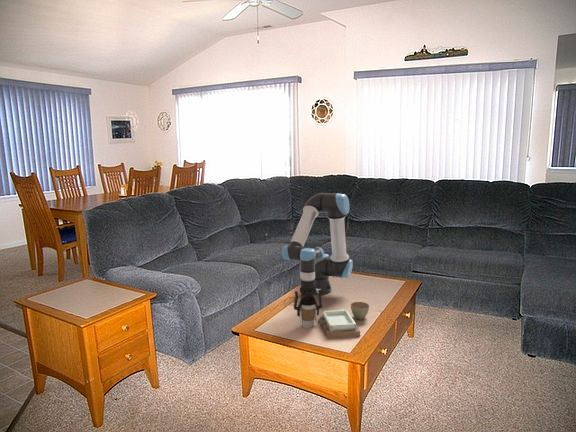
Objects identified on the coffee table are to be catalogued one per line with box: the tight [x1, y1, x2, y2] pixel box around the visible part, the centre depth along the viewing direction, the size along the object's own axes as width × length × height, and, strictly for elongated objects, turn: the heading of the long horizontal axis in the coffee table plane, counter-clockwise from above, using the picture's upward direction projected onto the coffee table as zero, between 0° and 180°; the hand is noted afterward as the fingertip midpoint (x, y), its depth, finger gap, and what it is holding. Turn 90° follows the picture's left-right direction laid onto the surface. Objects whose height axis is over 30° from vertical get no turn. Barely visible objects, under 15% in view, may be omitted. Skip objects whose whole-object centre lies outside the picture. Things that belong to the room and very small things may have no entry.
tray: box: [322, 309, 357, 331], centre depth 216 cm, size 18×13×3 cm
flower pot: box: [350, 301, 370, 320], centre depth 227 cm, size 10×10×7 cm
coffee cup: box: [301, 297, 317, 329], centre depth 218 cm, size 8×8×15 cm
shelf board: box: [318, 314, 361, 339], centre depth 216 cm, size 22×16×2 cm
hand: (308, 321), depth 219 cm, fingers closed on coffee cup, 7 cm apart
